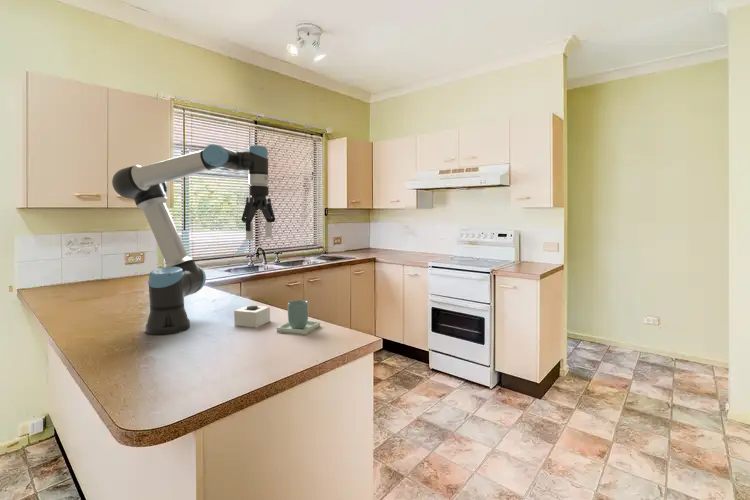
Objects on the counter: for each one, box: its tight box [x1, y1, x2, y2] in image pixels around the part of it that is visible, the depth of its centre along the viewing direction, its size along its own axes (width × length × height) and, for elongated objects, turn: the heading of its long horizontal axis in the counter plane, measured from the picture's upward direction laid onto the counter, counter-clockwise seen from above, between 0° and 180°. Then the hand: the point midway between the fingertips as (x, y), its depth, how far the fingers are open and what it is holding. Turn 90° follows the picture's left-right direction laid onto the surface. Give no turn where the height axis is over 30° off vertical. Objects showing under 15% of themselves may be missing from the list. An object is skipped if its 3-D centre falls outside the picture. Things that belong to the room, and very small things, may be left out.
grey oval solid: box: [247, 305, 259, 311], centre depth 160 cm, size 4×4×6 cm
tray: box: [276, 320, 321, 336], centre depth 152 cm, size 12×12×2 cm
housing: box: [233, 304, 271, 328], centre depth 160 cm, size 10×10×6 cm
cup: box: [287, 299, 309, 329], centre depth 151 cm, size 8×8×10 cm
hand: (259, 238), depth 159 cm, fingers open, 13 cm apart
